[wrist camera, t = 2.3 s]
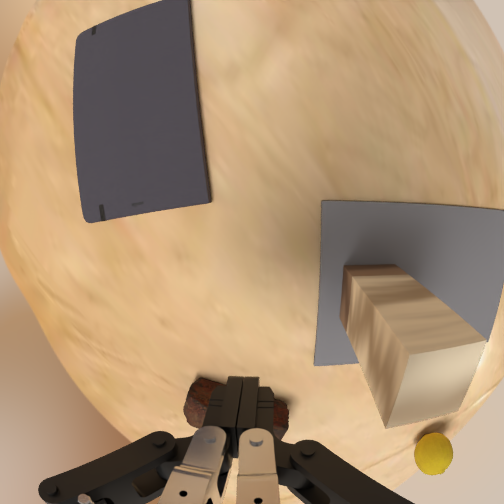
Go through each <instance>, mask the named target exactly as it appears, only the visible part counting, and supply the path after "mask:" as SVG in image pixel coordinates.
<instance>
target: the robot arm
mask: <svg viewBox="0 0 504 504" xmlns="http://www.w3.org/2000/svg"><path fill="white" fill-rule="evenodd" d="M273 414H274V393H273V392H272V390H271V388H270V387H259V377H240V376H229V377H228V381H227V385H226V386H221V385H218V386H217V387H216V388H215V389H214V390H213V391H212V393H211V397H210V400H209V404H208V407H207V411H206V414H205V418H204V421H203V425H202V428H200V429H198V430H197V431H196V432H195V434H194V435H193V436H190V437H186V438H177V439H175V438H174V437H173V435H171V434H170V433H168V432H164V431H157V432H153V433H151V434H149V435H147V436H145V437H143V438H141V439H139V440H137V441H135V442H133V443H131V444H129V445H127V446H125V447H122V448H120V449H118V450H116V451H114V452H112V453H110V454H107V455H105V456H103V457H100V458H98V459H96V460H94V461H91V462H89V463H86V464H84V465H82V466H79V467H77V468H74V469H72V470H69V471H67V472H64V473H61V474H58V475H56V476H53V477H50V478H47V479H45V480H43V481H42V482H41V483H40V485H39V488H38V491H39V495H40V497H41V498H42V499H43V500H44V501H45V502H46V503H47V504H146V503H148V502H150V501H152V500H153V499H155V498H157V497H159V496H161V497H160V500H159V502H158V504H223V500H224V496H225V492H226V488H227V485H228V481H229V477H230V473H231V466H232V459H233V458H238V457H239V472H238V475H237V499H236V504H280V496H279V485H283V486H287V488H288V489H289V490H290V491H291V492H292V493H293V494H294V495H295V496H296V497H298V498H299V499H300V500H301V501H302V502H303V503H305V504H414V503H412V502H411V501H409V500H407V499H405V498H403V497H402V496H400V495H398V494H396V493H395V492H393V491H391V490H390V489H388V488H386V487H385V486H383V485H381V484H380V483H378V482H376V481H375V480H373V479H372V478H370V477H368V476H367V475H365V474H364V473H362V472H361V471H359V470H358V469H356V468H355V467H353V466H352V465H350V464H349V463H347V462H346V461H344V460H343V459H341V458H340V457H338V456H337V455H336V454H334V453H333V452H331V451H330V450H329V449H327V448H326V447H324V446H323V445H322V444H320V443H319V442H317V441H314V440H302V441H299V442H297V443H296V444H289V443H286V442H283V441H281V440H279V439H278V438H277V437H276V436H275V434H274V432H273ZM278 484H279V485H278Z"/></svg>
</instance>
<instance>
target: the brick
mask: <svg viewBox="0 0 504 504" xmlns="http://www.w3.org/2000/svg"><path fill="white" fill-rule="evenodd" d="M218 385H221V386H226V385H223V384H220V383H217V382H213V381H210V380H207V379H204V378H199V379H198V380H197V381H195V382H194V383H192V385H191V387H190V389H189V391H188V394H187V398H186V402H185V405H184V409H183V410H184V415H185V416H186V418H187V422H188V423H189V424H190V425H191V426H193V427H196V428H199V429H200V428H202V425H203V421H204V418H205V414H206V411H207V407H208V404H209V400H210V397H211V393H212V391H213V390H214V389H215V388H216V387H217V386H218ZM288 415H289V410H288V409H287V405H286V404H285V403H284V402H283V401H280V400H276V399H274V414H273V432H274V434H275V436H276V437H277V438H278V439H279V440H281V439H282V438H283V436H284V435H285V433H286V431H287V430H288V427H289V424H288V422H289V421H288V419H289V417H288Z"/></svg>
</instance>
